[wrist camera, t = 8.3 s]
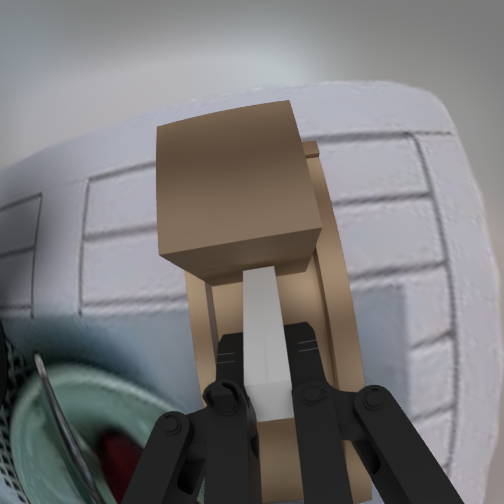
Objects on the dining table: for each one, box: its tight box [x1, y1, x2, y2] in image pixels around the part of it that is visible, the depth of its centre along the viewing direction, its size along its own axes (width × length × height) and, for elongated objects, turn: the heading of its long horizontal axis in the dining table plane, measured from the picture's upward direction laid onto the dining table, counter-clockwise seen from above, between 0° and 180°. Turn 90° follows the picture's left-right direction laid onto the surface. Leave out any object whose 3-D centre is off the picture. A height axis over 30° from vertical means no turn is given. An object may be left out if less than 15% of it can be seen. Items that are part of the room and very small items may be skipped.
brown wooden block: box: [156, 100, 322, 287], centre depth 16 cm, size 6×8×9 cm
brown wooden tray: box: [185, 141, 372, 504], centre depth 18 cm, size 24×10×4 cm, turn 9°
